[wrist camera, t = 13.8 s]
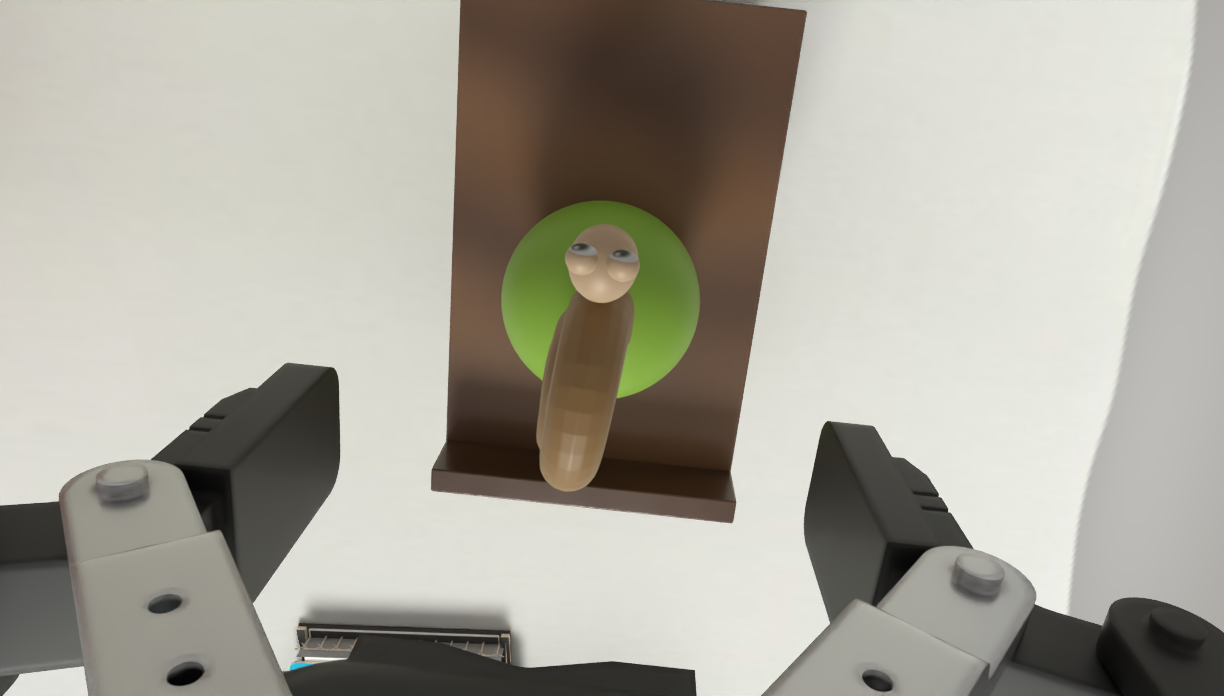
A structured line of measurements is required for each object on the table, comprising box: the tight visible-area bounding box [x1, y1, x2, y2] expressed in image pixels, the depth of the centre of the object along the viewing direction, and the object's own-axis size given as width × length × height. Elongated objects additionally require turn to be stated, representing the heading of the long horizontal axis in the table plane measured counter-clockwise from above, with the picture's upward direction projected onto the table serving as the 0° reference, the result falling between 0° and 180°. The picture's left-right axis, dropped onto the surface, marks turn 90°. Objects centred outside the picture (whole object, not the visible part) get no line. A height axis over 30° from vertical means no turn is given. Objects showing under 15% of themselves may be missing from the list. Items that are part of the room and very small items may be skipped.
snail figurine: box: [501, 201, 700, 492], centre depth 20 cm, size 5×6×12 cm
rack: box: [431, 0, 807, 523], centre depth 30 cm, size 15×10×14 cm, turn 174°
